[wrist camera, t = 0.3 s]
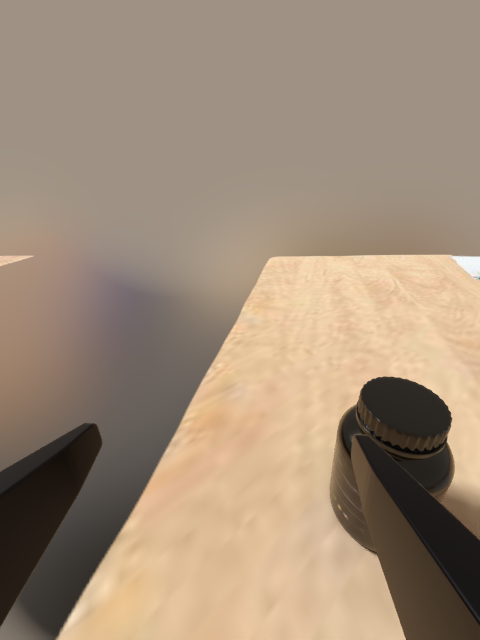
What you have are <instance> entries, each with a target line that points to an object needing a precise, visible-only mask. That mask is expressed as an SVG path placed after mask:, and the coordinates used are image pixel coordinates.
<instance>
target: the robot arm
mask: <svg viewBox="0 0 480 640" xmlns="http://www.w3.org/2000/svg"><path fill="white" fill-rule="evenodd" d="M101 446H102V438H101V435H100V432H99V429H98V426H97V425H96V424H94V423H84V424H82V425H80V426H79V427H77V428H75V429H73V430H72V431H70V432H68V433H66V434H65V435H63V436H61V437H60V438H58V439H56V440H54V441H53V442H51V443H49V444H48V445H46V446H44V447H42V448H40V449H39V450H37V451H36V452H34V453H32V454H30V455H28V456H27V457H25V458H23V459H21V460H20V461H18V462H16V463H15V464H13V465H11V466H9V467H8V468H6V469H4V470H2V471H1V472H0V627H1V625H2V624H3V622H4V620H5V619H6V617H7V615H8V614H9V612H10V610H11V608H12V607H13V605H14V603H15V602H16V599H17V598H18V596H19V595H20V593H21V591H22V590H23V588H24V586H25V585H26V583H27V581H28V579H29V578H30V576H31V574H32V573H33V571H34V569H35V567H36V566H37V564H38V562H39V561H40V559H41V557H42V555H43V554H44V552H45V550H46V549H47V547H48V545H49V544H50V542H51V540H52V538H53V537H54V535H55V533H56V532H57V530H58V528H59V527H60V525H61V523H62V521H63V520H64V518H65V516H66V515H67V513H68V511H69V509H70V508H71V506H72V504H73V503H74V501H75V499H76V497H77V496H78V494H79V492H80V490H81V488H82V486H83V484H84V482H85V480H86V478H87V476H88V474H89V472H90V470H91V468H92V466H93V464H94V461H95V459H96V457H97V455H98V453H99V451H100V449H101ZM351 460H352V464H353V469H354V473H355V477H356V482H357V486H358V491H359V495H360V499H361V504H362V508H363V512H364V515H365V519H366V522H367V525H368V528H369V531H370V534H371V537H372V540H373V543H374V546H375V549H376V552H377V555H378V558H379V561H380V564H381V567H382V569H383V572H384V575H385V578H386V581H387V584H388V587H389V590H390V593H391V596H392V599H393V602H394V605H395V608H396V611H397V614H398V617H399V620H400V623H401V626H402V629H403V632H404V635H405V638H406V640H480V540H479V539H478V538H477V537H476V536H475V535H474V534H473V533H472V532H471V531H470V530H469V529H468V528H466V527H465V526H464V525H463V524H462V523H461V522H460V521H459V520H458V519H457V518H456V517H455V516H454V515H453V514H452V513H450V512H449V511H448V510H447V509H446V508H445V507H444V506H443V505H442V504H441V503H440V502H439V501H438V500H437V499H436V498H435V497H433V496H432V495H431V494H430V493H429V492H428V491H427V490H426V489H425V488H424V487H423V486H422V485H421V484H420V483H419V482H417V481H416V480H415V479H414V478H413V477H412V476H411V475H410V474H409V473H408V472H407V471H406V470H405V469H404V468H403V467H401V466H400V465H399V464H398V463H397V462H396V461H395V460H394V459H393V458H392V457H391V456H390V455H389V454H388V453H387V452H386V451H384V450H383V449H382V448H381V447H380V446H379V445H378V444H377V443H376V442H375V441H374V440H373V439H372V438H371V437H369V436H368V435H362V434H355V435H354V436H353V442H352V450H351Z"/></svg>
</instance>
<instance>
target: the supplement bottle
mask: <svg viewBox="0 0 480 640" xmlns="http://www.w3.org/2000/svg"><path fill="white" fill-rule="evenodd" d="M451 422H452V418H451V412H450V411H449V410H448V406H447V405H446V404H445V403H444V401H443V400H442V399H440V398H439V396H438V395H436V394H435V393H433V392H432V391H431V390H429V389H427V388H426V387H424V386H422V385H419V384H418V383H416V382H412V381H410V380H407V379H402V378H395V377H378V378H376V379H372V380H371V381H368V382H367V384H365V385H364V386H363V388H362V389H361V391H360V396H359V400H358V402H357V404H356V405H354V406H353V407H351V408H350V409H348V410H347V411H346V412H345V413H344V415H343V416H342V418H341V420H340V422H339V426H338V431H337V438H336V445H335V452H334V459H333V466H332V473H331V481H330V499H331V504H332V507H333V510H334V512H335V514H336V516H337V518H338V520H339V522H340V523H341V525H342V526H343V527H344V529H345V530H346V531H347V532H348V533H349V534H350V535H351V536H352V537H353V538H354V539H355V540H356V541H357V542H359V543H360V544H361V545H363V546H364V547H366V548H368V549H370V550H372V551H374V552H376V549H375V546H374V543H373V540H372V537H371V534H370V531H369V528H368V525H367V522H366V519H365V515H364V512H363V508H362V504H361V499H360V495H359V491H358V486H357V482H356V477H355V473H354V469H353V464H352V460H351V450H352V442H353V436H354V435H355V434H362V435H368V436H369V437H371V438H372V439H373V440H374V441H375V442H376V443H377V444H378V445H379V446H380V447H381V448H382V449H383V450H384V451H386V452H387V453H388V454H389V455H390V456H391V457H392V458H393V459H394V460H395V461H396V462H397V463H398V464H399V465H400V466H401V467H403V468H404V469H405V470H406V471H407V472H408V473H409V474H410V475H411V476H412V477H413V478H414V479H415V480H416V481H417V482H419V483H420V484H421V485H422V486H423V487H424V488H425V489H426V490H427V491H428V492H429V493H430V494H431V495H432V496H433V497H435V498H436V499H437V500H438V501H439V502H440V503H441V501H442V499H443V497H444V495H445V494H446V492H447V490H448V488H449V486H450V484H451V482H452V479H453V476H454V471H455V464H454V458H453V454H452V451H451V449H450V447H449V445H448V443H447V435H448V433H449V430H450V428H451Z"/></svg>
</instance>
